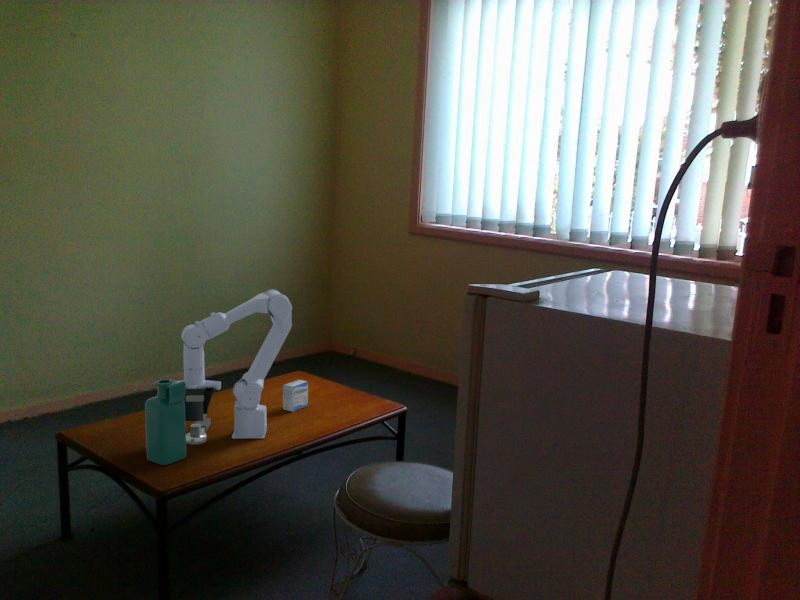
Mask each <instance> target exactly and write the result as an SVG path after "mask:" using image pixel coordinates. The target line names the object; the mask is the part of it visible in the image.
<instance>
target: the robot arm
mask: <svg viewBox="0 0 800 600" xmlns="http://www.w3.org/2000/svg"><path fill="white" fill-rule="evenodd" d="M292 310H293V306H292V303H291V301H290V300H289V298H288V296H287V295H285V294H282V293H281V292H280V291H279V290H277V289H268V290H266V291H265V292H261V293H258V294H257V295H256V296H254V297H252V298H250V299H249V300H247V301H245V302H243V303H241V304H240V305H238V306H236V307H234V308H233V309H231V310H228V311H227V312H224V313H223V312H220V311H219V312H216V313H215V311H214V312H211V313H210V316H208V317H206V318H204V319H202V320H200V321H199V320H197V321H195V322H194V324H189V325H185V327H184V328H183V330H182V331H181V334H180V338H181V340H182V341H183V346H182V347H183V352H182V353H183V354H182V355H183V357H182V359H183V361H182V362H183V380H181V379H180V380H174V381H175V383H179V382H185V384H186V385H185V397H186V396H187V390H204V391H203V395H204V414H207V415H208V413H209V408H210V407H209V406H210V404H211V403H210V402H211V400H212V396H213V394H214V392H215V390H217V391H219V390H221V388H222V382H221V381H219V380H217V381H216V380H208V379H206V378H205V351H204V345H205V343H206V341H209V340H210V339H213V338H215V337H217V336H218V335H221V334H222V333H224V332H226V331H228V330H229V329H230V326H231V324H233V323H235V322H237V321H239V320H242V319H245V317H248V316H250V315H253V314H255V313H260V314H261V313H262V314H269V316H270V317H269V318H270V319H271V322H272V326H271V328H270V330H269V331H268V332H267V333H268V334H267V335H266V337H265V339H264V341H263V343H262V344H261V347H260V349H259V350H258V353H257V354H256V356H255V358H254V359H253V361H252V364H251V366H250V367H249V369H248V371H246V372H245V373H244V374H243V375H242V377H241V378H240V379H239V380H238V381H236V382H235V384H234V385H233V388H232V394H233V396H234V397H235V398H236V400H235V402H234V405H233V408H234V409H233V410H234V411H233V414H234V422H233V423H234V425H233V426H234V429H233V433H232V435H231V439H235V440H237V439H265V437H266V434H267V430H268V424H267V405H263V404H260V401H261V398H262V397H261V394H262V391H263V390H264V381H265V378H266V376H267V375H268V372H269V371H270V369H271V367H272V365H273V363H274V361H275V360H276V358H277V356H278V354H279V352H280V350H281V348H282V346H283V344H284V342H285V341H286V339H287V336H288V334H289V333H290V332H291V329H292V326H293V323H292V321H293V320H292V317H293V315H292ZM185 397H184V399H185Z"/></svg>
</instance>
